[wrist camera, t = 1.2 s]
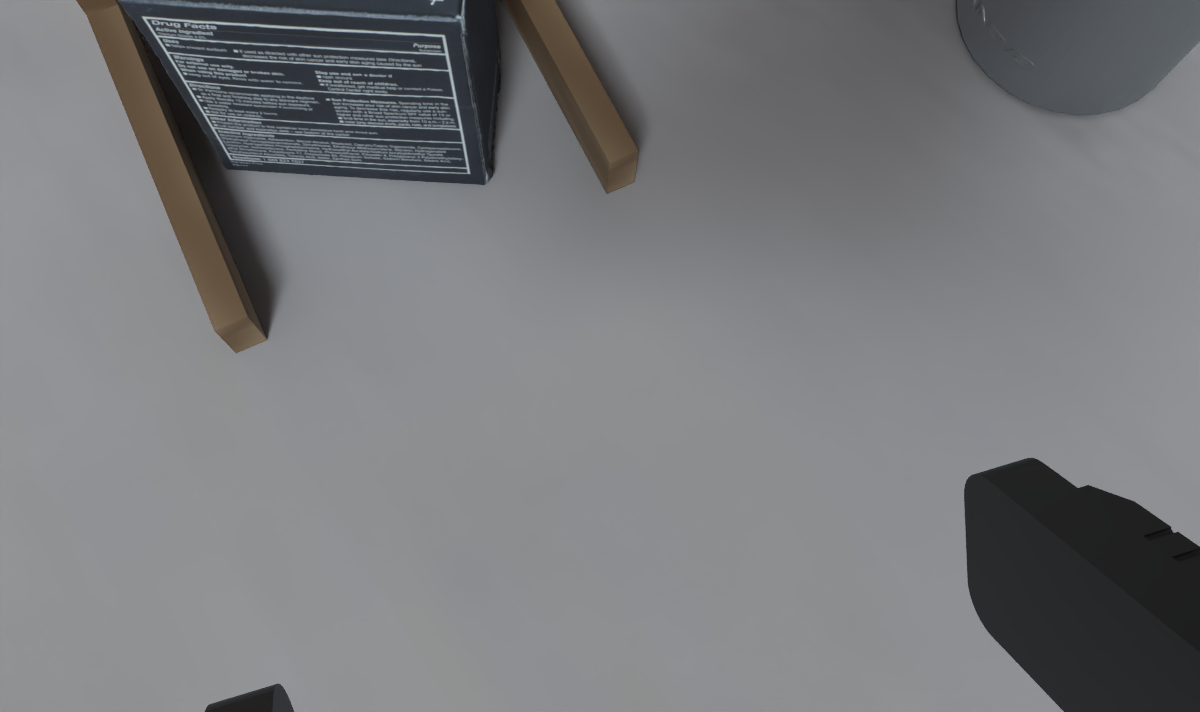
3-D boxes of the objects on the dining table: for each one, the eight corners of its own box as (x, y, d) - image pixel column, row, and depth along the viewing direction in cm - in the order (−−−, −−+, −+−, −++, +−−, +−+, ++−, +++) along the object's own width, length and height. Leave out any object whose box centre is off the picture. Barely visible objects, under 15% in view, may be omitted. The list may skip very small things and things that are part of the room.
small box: (505, 46, 43) (488, -150, 33) (492, 189, 41) (470, 27, 31) (246, 30, 43) (149, -173, 33) (220, 173, 41) (109, 5, 31)
